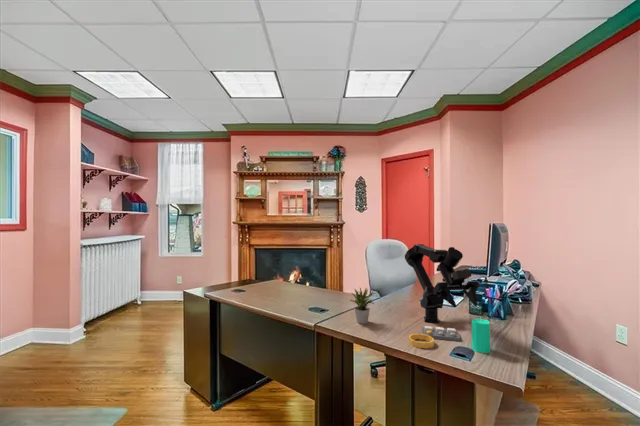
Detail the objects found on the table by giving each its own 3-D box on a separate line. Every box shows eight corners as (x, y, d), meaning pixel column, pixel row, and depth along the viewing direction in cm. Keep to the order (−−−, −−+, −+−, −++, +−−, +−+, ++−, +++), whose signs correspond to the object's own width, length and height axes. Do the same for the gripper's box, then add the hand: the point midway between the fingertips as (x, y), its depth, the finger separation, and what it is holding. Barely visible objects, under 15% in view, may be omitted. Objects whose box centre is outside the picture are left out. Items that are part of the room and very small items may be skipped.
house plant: (378, 329, 135) (377, 291, 135) (346, 326, 137) (346, 290, 138) (378, 318, 149) (378, 285, 149) (349, 317, 151) (349, 283, 152)
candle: (484, 346, 116) (484, 314, 117) (493, 353, 110) (493, 319, 111) (468, 346, 116) (468, 314, 117) (477, 353, 110) (477, 319, 111)
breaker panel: (422, 329, 134) (422, 324, 134) (456, 333, 130) (456, 327, 130) (423, 337, 125) (423, 331, 125) (460, 341, 121) (460, 335, 121)
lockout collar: (408, 337, 125) (408, 332, 125) (432, 340, 122) (432, 335, 122) (409, 346, 116) (409, 341, 116) (435, 349, 113) (435, 344, 113)
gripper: (436, 262, 126) (453, 296, 114) (476, 261, 129) (497, 294, 118) (426, 278, 133) (441, 311, 122) (465, 277, 137) (483, 309, 125)
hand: (466, 306), depth 122 cm, fingers open, 9 cm apart
